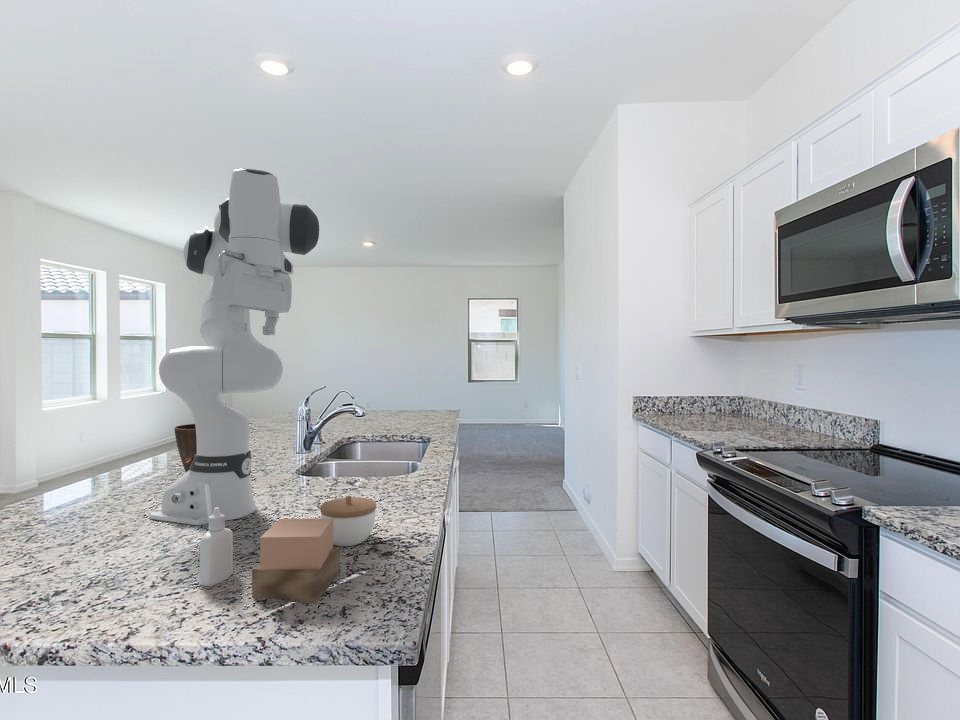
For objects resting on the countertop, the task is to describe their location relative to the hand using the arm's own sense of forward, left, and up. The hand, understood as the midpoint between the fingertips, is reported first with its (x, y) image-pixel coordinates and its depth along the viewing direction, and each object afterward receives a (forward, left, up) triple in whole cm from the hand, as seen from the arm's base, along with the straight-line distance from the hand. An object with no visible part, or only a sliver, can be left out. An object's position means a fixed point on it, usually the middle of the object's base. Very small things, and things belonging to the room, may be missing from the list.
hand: (255, 334), depth 97 cm
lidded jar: (+14, +10, -41) cm, 45 cm away
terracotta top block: (+13, -10, -36) cm, 40 cm away
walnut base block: (+13, -10, -42) cm, 45 cm away
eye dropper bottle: (-1, -10, -41) cm, 42 cm away
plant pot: (-49, +55, -41) cm, 84 cm away
